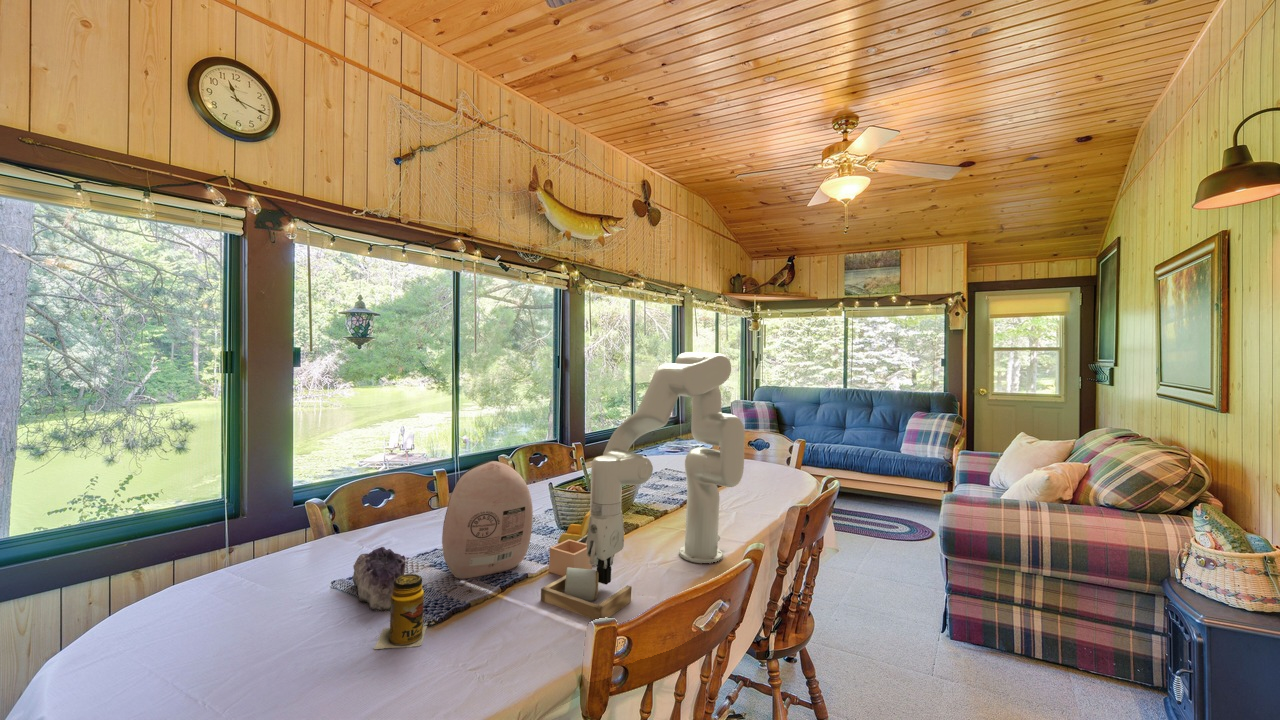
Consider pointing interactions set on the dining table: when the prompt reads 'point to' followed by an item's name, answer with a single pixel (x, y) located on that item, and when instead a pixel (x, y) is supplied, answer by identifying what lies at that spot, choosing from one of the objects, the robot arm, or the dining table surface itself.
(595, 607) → the frame
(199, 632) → the dining table surface
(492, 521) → the packaged food
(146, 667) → the dining table surface
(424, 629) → the condiment
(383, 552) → the geode
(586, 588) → the ceramic mug
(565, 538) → the yellow toy chair
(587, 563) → the terracotta planter
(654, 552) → the dining table surface
